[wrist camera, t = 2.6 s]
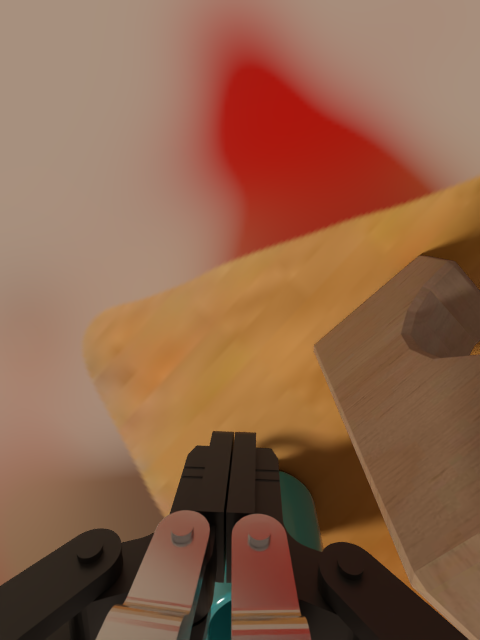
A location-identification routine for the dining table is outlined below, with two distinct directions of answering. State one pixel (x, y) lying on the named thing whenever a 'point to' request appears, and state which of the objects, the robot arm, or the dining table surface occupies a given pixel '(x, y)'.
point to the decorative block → (418, 424)
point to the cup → (299, 525)
